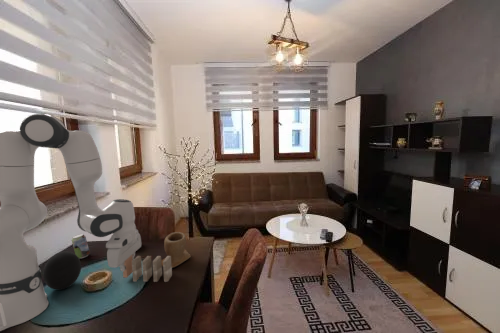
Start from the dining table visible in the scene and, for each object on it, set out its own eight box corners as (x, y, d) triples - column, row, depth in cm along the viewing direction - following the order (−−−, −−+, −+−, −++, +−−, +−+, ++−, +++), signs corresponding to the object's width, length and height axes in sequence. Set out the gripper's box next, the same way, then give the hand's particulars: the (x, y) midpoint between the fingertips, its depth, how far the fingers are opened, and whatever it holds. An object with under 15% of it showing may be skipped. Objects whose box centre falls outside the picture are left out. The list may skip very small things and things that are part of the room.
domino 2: (133, 281, 104) (131, 261, 103) (138, 274, 109) (137, 255, 108) (136, 281, 104) (135, 261, 103) (142, 274, 109) (141, 255, 108)
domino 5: (164, 281, 103) (162, 261, 102) (168, 275, 108) (167, 255, 107) (167, 281, 103) (166, 261, 102) (172, 275, 108) (170, 255, 107)
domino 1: (123, 277, 104) (121, 257, 103) (129, 271, 109) (128, 252, 108) (127, 277, 104) (125, 257, 103) (133, 271, 109) (131, 252, 108)
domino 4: (153, 281, 104) (152, 261, 103) (158, 275, 109) (157, 255, 108) (157, 281, 104) (156, 261, 103) (162, 275, 108) (160, 255, 108)
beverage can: (88, 258, 125) (86, 236, 124) (71, 261, 123) (69, 238, 121) (91, 253, 131) (89, 231, 130) (75, 255, 128) (73, 234, 127)
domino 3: (143, 281, 104) (142, 261, 103) (148, 275, 109) (147, 255, 108) (147, 281, 104) (145, 261, 103) (152, 275, 109) (151, 255, 108)
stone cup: (173, 273, 110) (171, 241, 108) (156, 266, 116) (154, 236, 115) (197, 259, 123) (196, 230, 121) (181, 253, 129) (179, 226, 127)
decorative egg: (52, 282, 104) (48, 249, 102) (86, 276, 108) (83, 244, 107) (39, 299, 93) (34, 262, 91) (77, 292, 97) (73, 256, 95)
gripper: (130, 227, 115) (133, 255, 116) (102, 246, 95) (105, 279, 96) (143, 227, 115) (145, 255, 116) (118, 246, 94) (121, 279, 96)
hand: (127, 266), depth 106 cm, fingers closed on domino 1, 5 cm apart
